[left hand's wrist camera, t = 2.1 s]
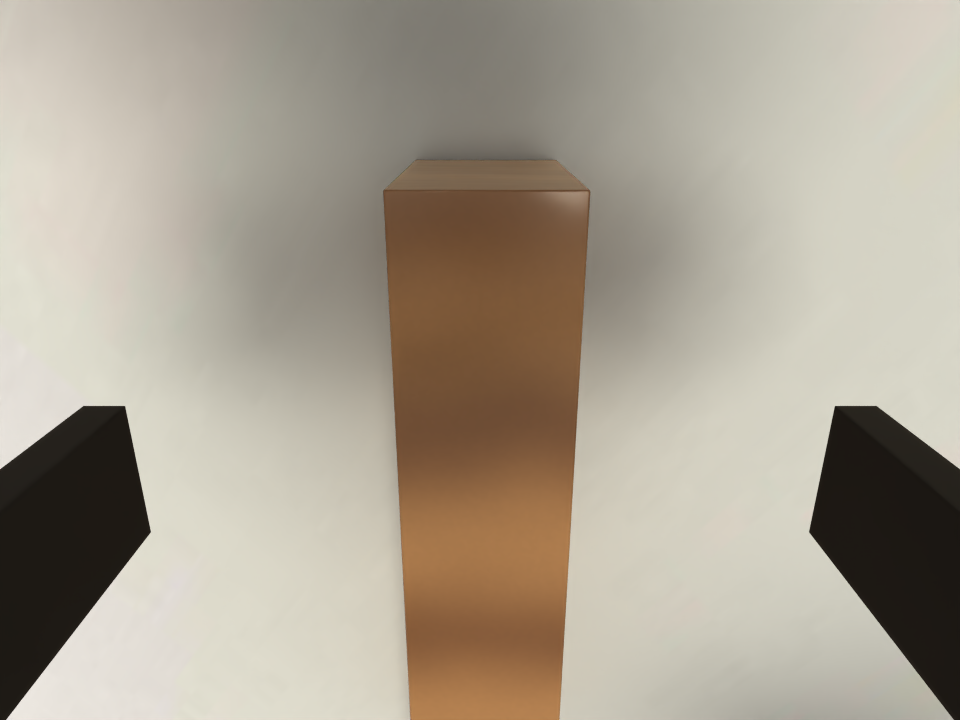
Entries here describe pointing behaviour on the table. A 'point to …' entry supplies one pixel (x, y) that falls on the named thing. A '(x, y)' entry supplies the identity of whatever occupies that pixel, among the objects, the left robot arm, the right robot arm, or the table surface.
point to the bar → (485, 426)
